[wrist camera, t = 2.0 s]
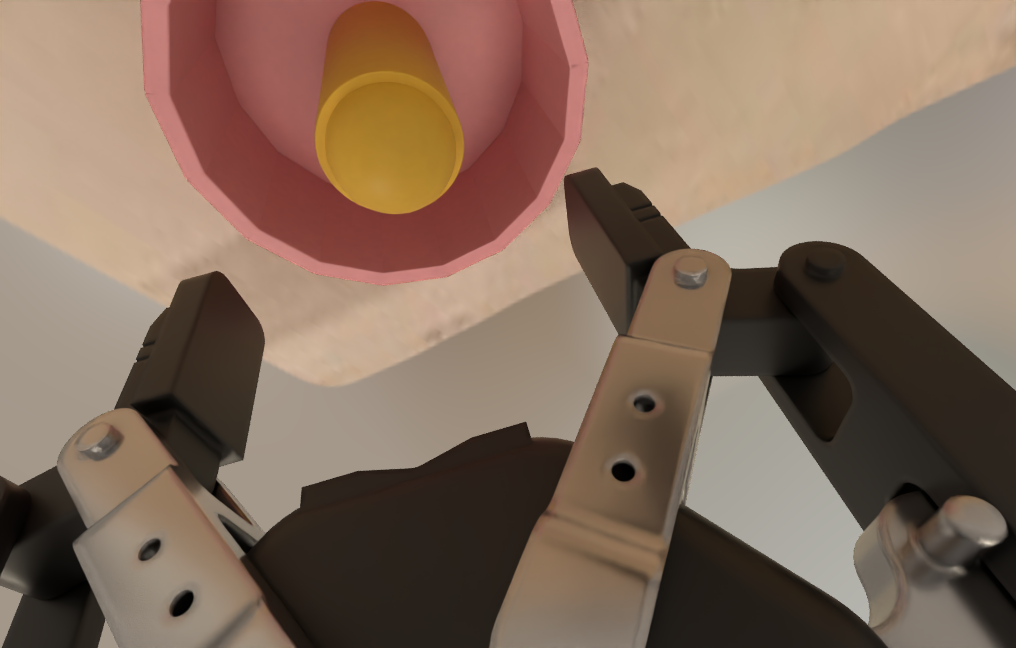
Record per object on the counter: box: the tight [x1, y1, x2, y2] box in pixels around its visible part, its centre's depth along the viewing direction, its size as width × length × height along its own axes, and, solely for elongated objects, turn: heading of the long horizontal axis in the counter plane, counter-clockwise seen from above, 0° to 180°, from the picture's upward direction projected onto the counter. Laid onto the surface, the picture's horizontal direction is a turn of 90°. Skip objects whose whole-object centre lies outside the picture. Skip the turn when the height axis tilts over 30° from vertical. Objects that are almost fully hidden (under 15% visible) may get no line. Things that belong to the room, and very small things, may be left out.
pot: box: [140, 0, 588, 285], centre depth 20 cm, size 14×14×8 cm
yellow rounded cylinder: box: [314, 1, 464, 214], centre depth 18 cm, size 5×5×11 cm
